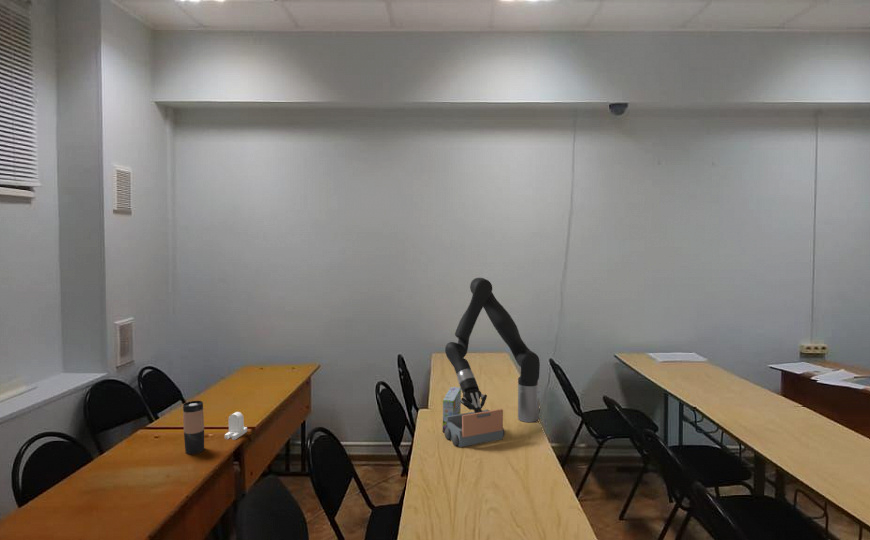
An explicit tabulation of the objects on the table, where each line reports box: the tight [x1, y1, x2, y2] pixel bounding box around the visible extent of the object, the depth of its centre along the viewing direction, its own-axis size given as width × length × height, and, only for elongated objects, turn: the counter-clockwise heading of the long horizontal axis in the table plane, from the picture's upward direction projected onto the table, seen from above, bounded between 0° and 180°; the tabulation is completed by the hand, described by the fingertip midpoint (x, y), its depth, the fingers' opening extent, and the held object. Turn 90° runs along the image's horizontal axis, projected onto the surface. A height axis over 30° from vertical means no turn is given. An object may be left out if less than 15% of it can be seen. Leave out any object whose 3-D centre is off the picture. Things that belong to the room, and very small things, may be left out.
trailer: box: [443, 409, 506, 448], centre depth 226 cm, size 23×13×9 cm, turn 114°
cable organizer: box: [224, 411, 248, 441], centre depth 231 cm, size 5×10×10 cm, turn 168°
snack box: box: [442, 386, 462, 433], centre depth 241 cm, size 21×6×15 cm, turn 168°
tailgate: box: [462, 408, 504, 437], centre depth 218 cm, size 19×2×9 cm, turn 114°
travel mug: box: [182, 400, 205, 455], centre depth 214 cm, size 8×8×20 cm
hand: (480, 417), depth 220 cm, fingers closed
